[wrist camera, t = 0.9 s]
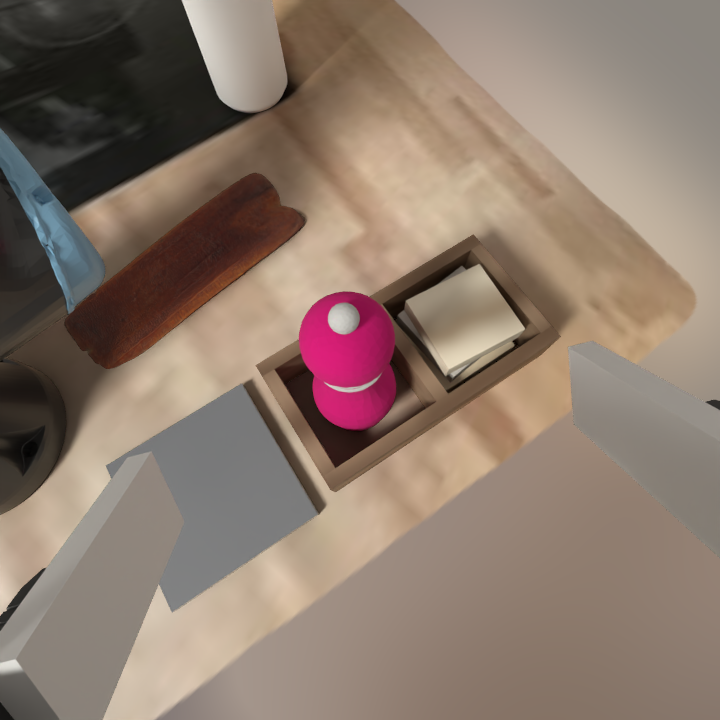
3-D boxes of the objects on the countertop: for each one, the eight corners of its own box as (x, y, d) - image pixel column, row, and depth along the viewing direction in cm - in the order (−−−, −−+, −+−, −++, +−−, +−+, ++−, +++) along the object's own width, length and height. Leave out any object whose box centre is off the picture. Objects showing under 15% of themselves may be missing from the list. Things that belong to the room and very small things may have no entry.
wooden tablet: (256, 173, 53) (253, 162, 51) (312, 227, 50) (310, 217, 49) (57, 316, 48) (47, 309, 46) (108, 384, 45) (99, 379, 44)
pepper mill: (396, 365, 44) (412, 256, 25) (391, 439, 42) (407, 381, 23) (322, 360, 45) (285, 249, 26) (314, 433, 42) (267, 371, 24)
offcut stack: (390, 325, 46) (392, 298, 40) (460, 281, 47) (472, 250, 41) (442, 396, 43) (452, 378, 38) (515, 348, 45) (535, 324, 39)
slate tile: (111, 466, 42) (105, 465, 41) (244, 386, 44) (241, 383, 43) (177, 609, 38) (172, 612, 37) (319, 514, 40) (317, 514, 39)
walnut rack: (268, 381, 44) (255, 365, 39) (463, 261, 48) (473, 234, 43) (335, 492, 41) (330, 489, 36) (540, 355, 44) (560, 336, 40)
